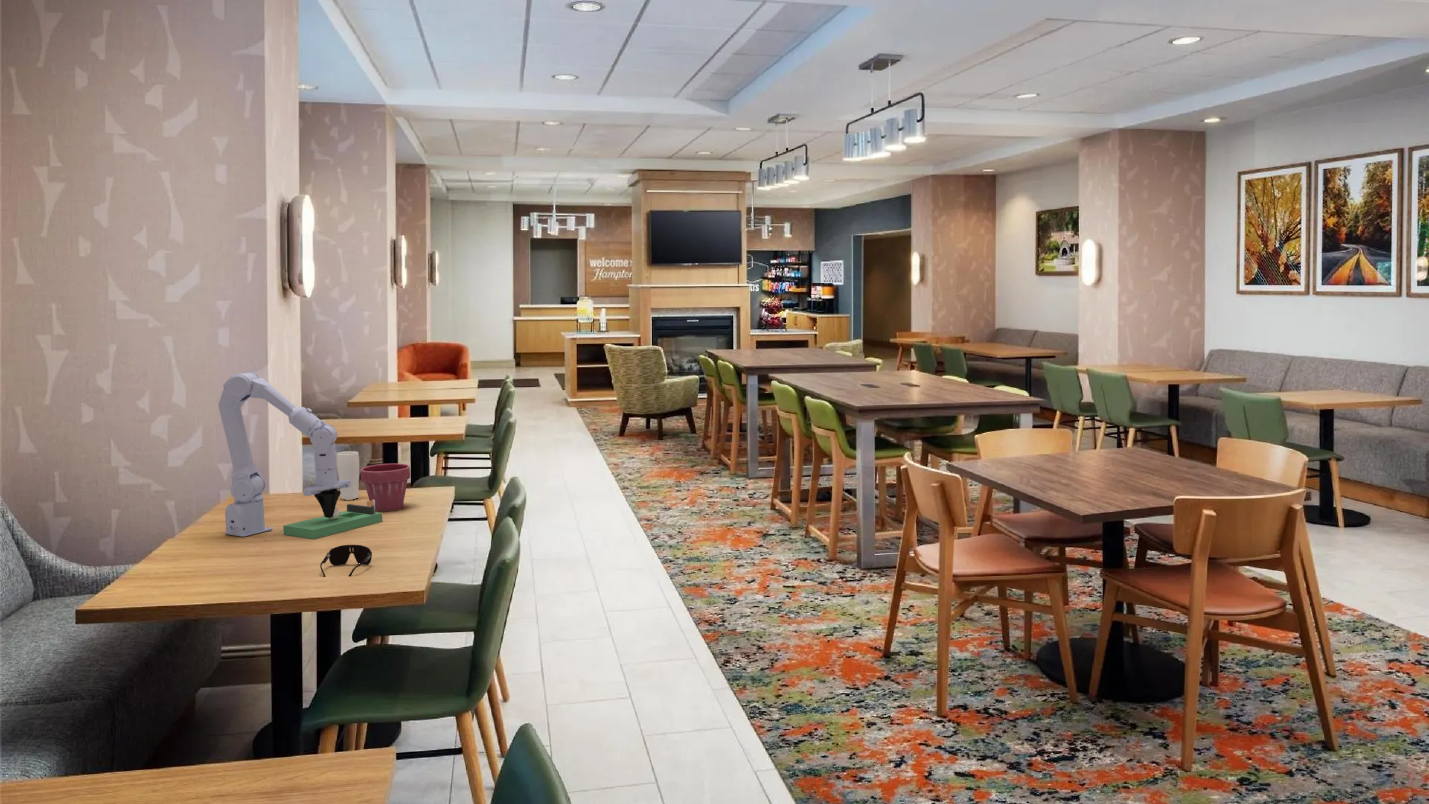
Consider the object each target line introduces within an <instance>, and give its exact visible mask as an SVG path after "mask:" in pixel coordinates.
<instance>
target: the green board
mask: <svg viewBox="0 0 1429 804" xmlns="http://www.w3.org/2000/svg"><path fill="white" fill-rule="evenodd" d="M372 505H373V507H371V506H372ZM380 521H382V522H383V512H379V511H375V500H372V501H369V500H368V501H366V505H361V504H353V503H347V504H346V510H344V511H340V515H339V517H338V518H337V519H335V520H331V519H329V518H327V517H325V516H324V515H323V516H318V517H317V516H316V517H313V518H310V519H309V518H308V519H305V520H300V521H295V522H291V523H289V524H284V525H283V526H282V527H283V529H282V530H283V535H284V536H290V537H297V538H303V537H304V539H309V540H310V539H311V540H315V539H320V538H323V537H322V536H324V537H327V536H331V534H332V535H335V534H334V533H336V534H340V533H344V532H346V530H347V531H351V530H355V529H358V527H359V528H363V527H367V526H370V525H369V524H371V525H375V524H378V523H377V522H379V523H381V522H380ZM374 523H375V524H374ZM366 525H367V526H366ZM354 528H355V529H354ZM343 531H344V532H343ZM319 537H320V538H319Z"/></svg>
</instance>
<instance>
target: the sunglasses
mask: <svg viewBox="0 0 1429 804" xmlns="http://www.w3.org/2000/svg"><path fill="white" fill-rule="evenodd" d="M351 554H353V556H354V559H355V561H356V563H357V565H356V566H355V567H353V568H352V570H351V571H350V573H349V574H348V577H351V575H352V576H353V573H354V572H355V570H356V569H357V568H358V567H360V566H362V564H368V565H370V563H372V557H373V553H372V550H371V549H370V547H367V546H365V545H362V544H344V545H343V544H342V545H338V546H335V547H332V548H330V550H329V552H327V553H326V555H325V557H324V558H323V560H322V561H321V562H320V564H319V567H320V570H321V573H322V575H323V577H324V578H326V574H325V572H324V569H323V567H322V565H323V564H326V563H327V561H328V560H329V563H330V564H331V565H332V566H341V564H342V566H344V565H343V564H345V565H346V564H347V563H348V561H349V558H350V557H351ZM359 563H360V564H359Z"/></svg>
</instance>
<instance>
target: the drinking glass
mask: <svg viewBox="0 0 1429 804" xmlns="http://www.w3.org/2000/svg"><path fill="white" fill-rule="evenodd" d="M336 458H337V474H338V481H343V480H350V481H351V487H348V488H347V487H346V488H341V489H339V491H340V492H341V494H340V498H341V500H342V499H354V498H359V497H360V495H359V489H360V488H359V487H360V485H359V484H360V454H359V451H353V450H352V451H350V450H349V451H340V452H336Z"/></svg>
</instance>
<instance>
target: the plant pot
mask: <svg viewBox="0 0 1429 804" xmlns="http://www.w3.org/2000/svg"><path fill="white" fill-rule="evenodd" d="M410 478H411V468H410V464H406V463H381V464H380V463H379V464H372V465H367V466H364V467H362V468H360V481H361V482H362V483H364V486H365V490H366V493H367V497H368V501H372V500H375V510H378V511H377V512H391V510H392V511H397V510H401V509H402V508H403V507H404V502H405V497H406V496H405V495H406V492H407V491H406V490H407V485H408V484H407V483H408V480H409V479H410ZM370 507H373V505H372V506H370Z"/></svg>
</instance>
